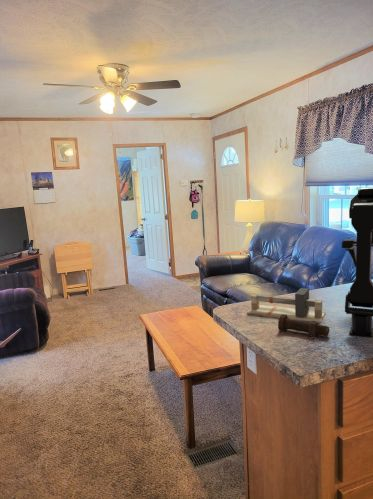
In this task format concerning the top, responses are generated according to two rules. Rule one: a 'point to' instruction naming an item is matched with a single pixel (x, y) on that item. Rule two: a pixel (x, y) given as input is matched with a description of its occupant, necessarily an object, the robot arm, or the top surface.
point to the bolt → (302, 326)
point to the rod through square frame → (290, 312)
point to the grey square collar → (301, 302)
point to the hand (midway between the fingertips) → (369, 267)
